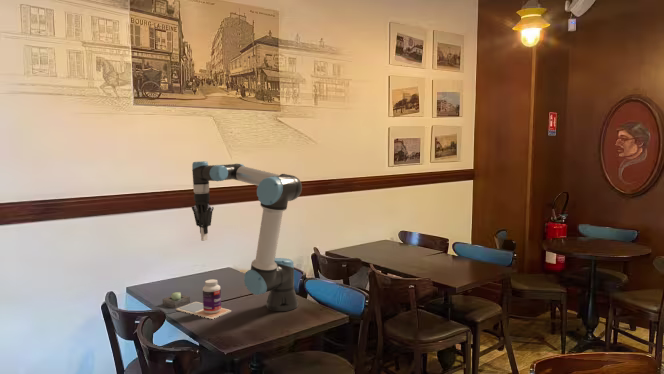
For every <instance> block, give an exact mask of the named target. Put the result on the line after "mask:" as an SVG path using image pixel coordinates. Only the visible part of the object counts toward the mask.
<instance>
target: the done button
mask: <svg viewBox="0 0 664 374" xmlns="http://www.w3.org/2000/svg"><path fill="white" fill-rule="evenodd" d="M181 293H182V292H180V291H178V292H177V291H176V292H172V293H171V295H170V296H171V297H172V300H178V299H181V295H182V294H181Z"/></svg>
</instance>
